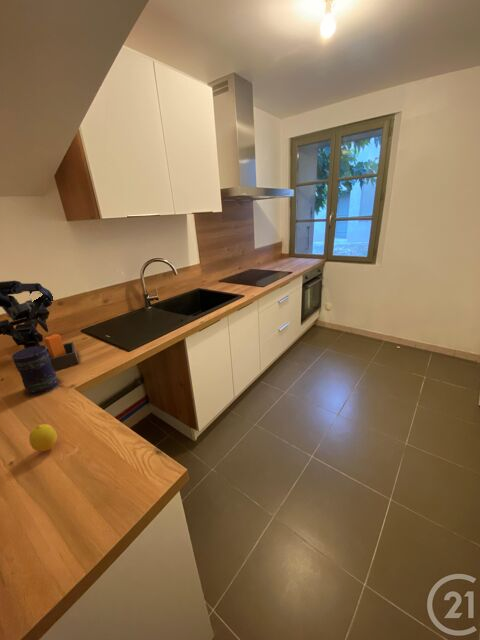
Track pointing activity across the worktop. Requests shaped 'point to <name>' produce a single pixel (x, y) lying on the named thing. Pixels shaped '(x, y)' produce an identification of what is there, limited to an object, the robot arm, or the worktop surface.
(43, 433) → the lemon
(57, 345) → the block
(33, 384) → the storage jar
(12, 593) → the worktop surface
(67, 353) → the dark grey open box
